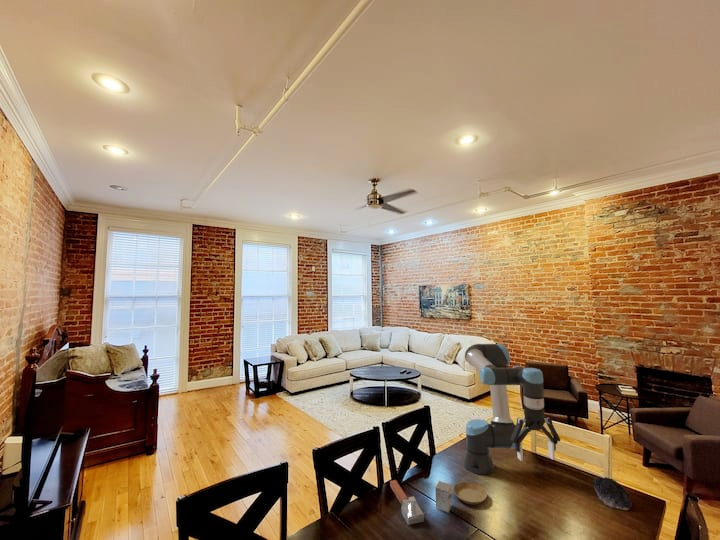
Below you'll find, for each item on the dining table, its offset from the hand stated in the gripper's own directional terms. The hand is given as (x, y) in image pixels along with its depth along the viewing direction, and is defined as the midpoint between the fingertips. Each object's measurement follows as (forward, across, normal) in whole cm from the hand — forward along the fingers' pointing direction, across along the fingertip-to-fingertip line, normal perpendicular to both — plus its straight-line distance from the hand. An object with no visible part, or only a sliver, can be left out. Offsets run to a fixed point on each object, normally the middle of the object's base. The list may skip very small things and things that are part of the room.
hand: (535, 458), depth 131 cm
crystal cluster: (+25, +41, +9) cm, 49 cm away
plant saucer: (+25, -22, +16) cm, 37 cm away
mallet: (+25, -53, +14) cm, 61 cm away
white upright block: (+25, -36, +10) cm, 45 cm away
